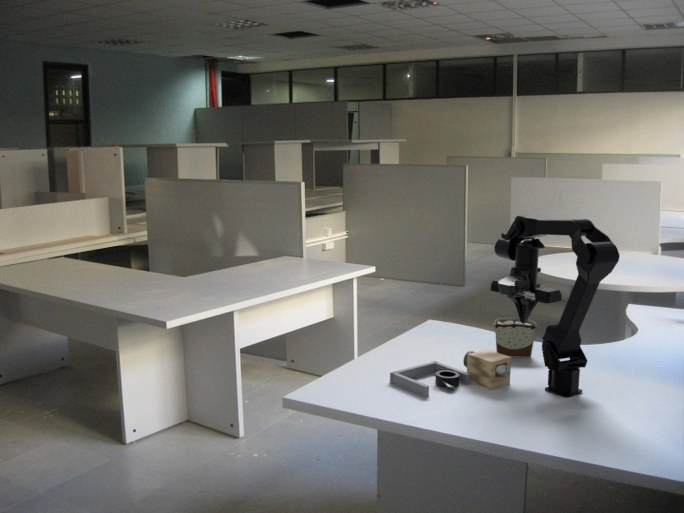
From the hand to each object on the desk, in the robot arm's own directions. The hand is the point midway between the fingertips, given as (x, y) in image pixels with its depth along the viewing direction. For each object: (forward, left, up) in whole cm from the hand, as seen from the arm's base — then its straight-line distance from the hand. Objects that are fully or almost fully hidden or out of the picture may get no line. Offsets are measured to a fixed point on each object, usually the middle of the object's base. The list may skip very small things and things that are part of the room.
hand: (523, 322), depth 182 cm
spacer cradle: (+7, +26, -13) cm, 30 cm away
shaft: (-1, +14, -11) cm, 18 cm away
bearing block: (-1, +14, -13) cm, 19 cm away
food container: (+11, -10, -13) cm, 20 cm away
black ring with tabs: (+4, +23, -14) cm, 27 cm away
